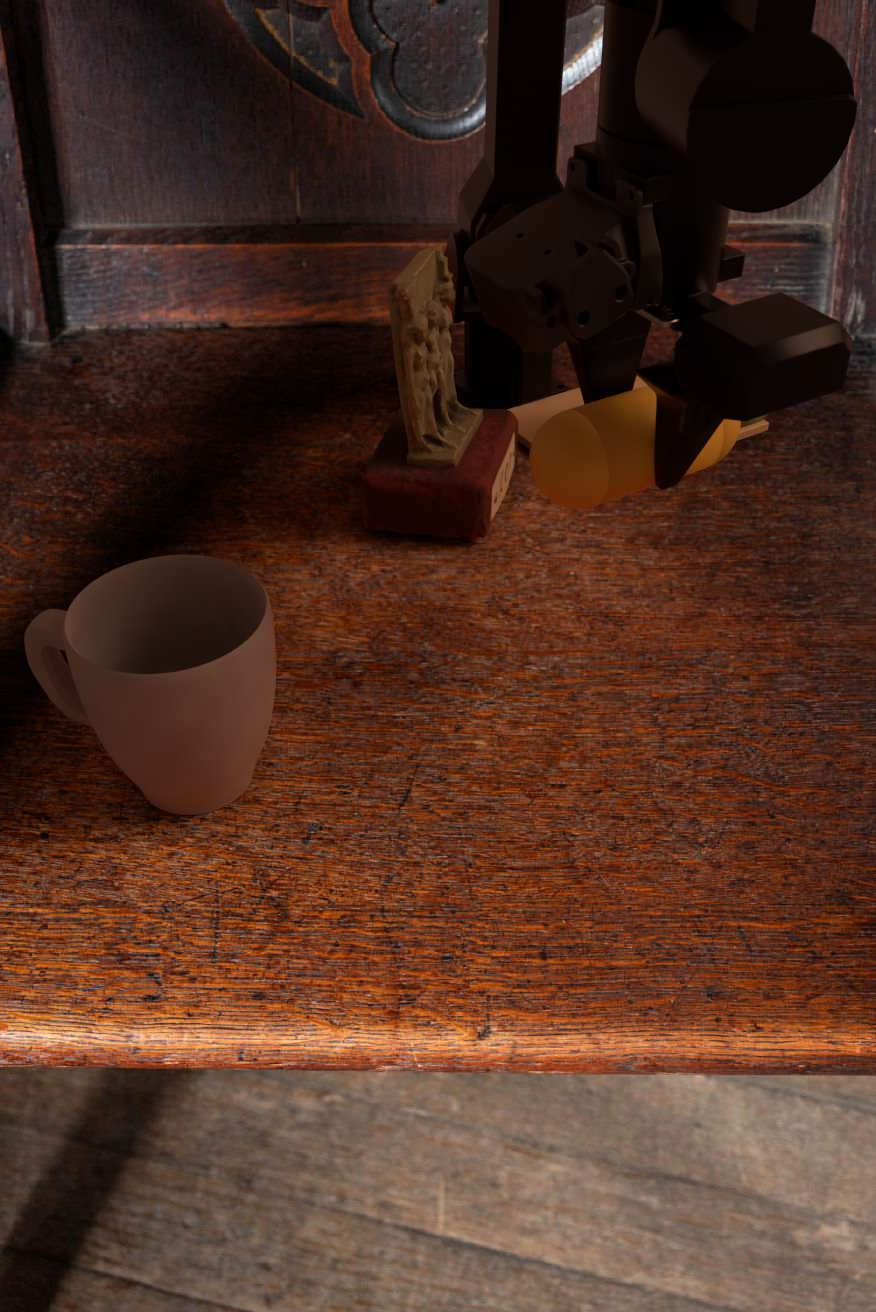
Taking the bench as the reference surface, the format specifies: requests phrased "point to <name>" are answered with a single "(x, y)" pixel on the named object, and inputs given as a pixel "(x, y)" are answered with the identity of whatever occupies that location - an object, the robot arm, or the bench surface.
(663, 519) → the bench surface
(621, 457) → the orange rounded cylinder
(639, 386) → the birch board
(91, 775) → the bench surface
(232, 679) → the mug
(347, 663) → the bench surface
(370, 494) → the sculpture
